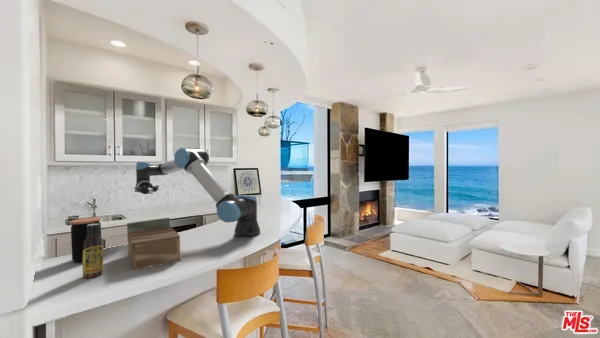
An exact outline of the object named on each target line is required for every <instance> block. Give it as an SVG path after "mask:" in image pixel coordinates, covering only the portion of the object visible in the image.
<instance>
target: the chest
mask: <svg viewBox="0 0 600 338" xmlns="http://www.w3.org/2000/svg"><path fill="white" fill-rule="evenodd" d="M127 250H128V253H127V254H128V259H129V263H130V262H131V263H130V266H132V267H131V270H134V271H137V270H136V269H139V270H142V269H141V268H143V269H146V268H145V267H148V268H151V267H150V266H153V267H156V265H157V266H160V264H162V265H165V263H167V264H169V263H170V262H171V263H175V262H174V261H176V262H181V238H174V239H168V240H162V241H156V242H150V243H144V244H139V245H133V246H132V245H131V242H130V239H129V236H127Z"/></svg>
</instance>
